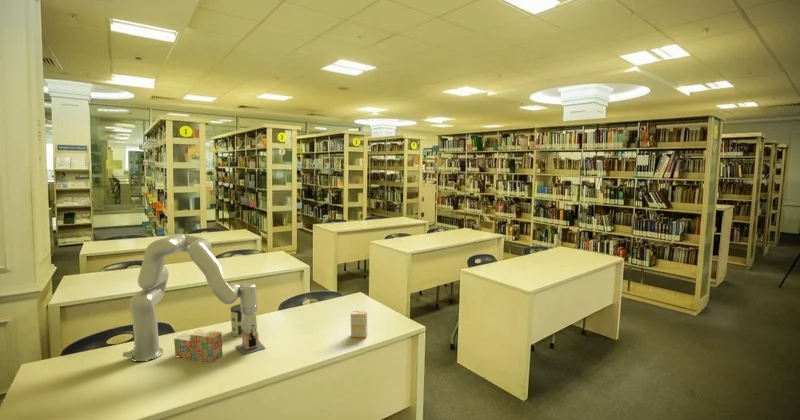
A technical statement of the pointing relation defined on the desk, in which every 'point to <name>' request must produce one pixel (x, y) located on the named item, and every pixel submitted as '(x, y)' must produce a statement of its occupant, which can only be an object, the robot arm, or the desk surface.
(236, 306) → the coffee can
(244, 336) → the tan cardboard-coloured cube
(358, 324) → the supplement box
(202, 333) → the stack of blocks
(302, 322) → the desk surface
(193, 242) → the robot arm
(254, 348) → the mat
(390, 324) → the desk surface
